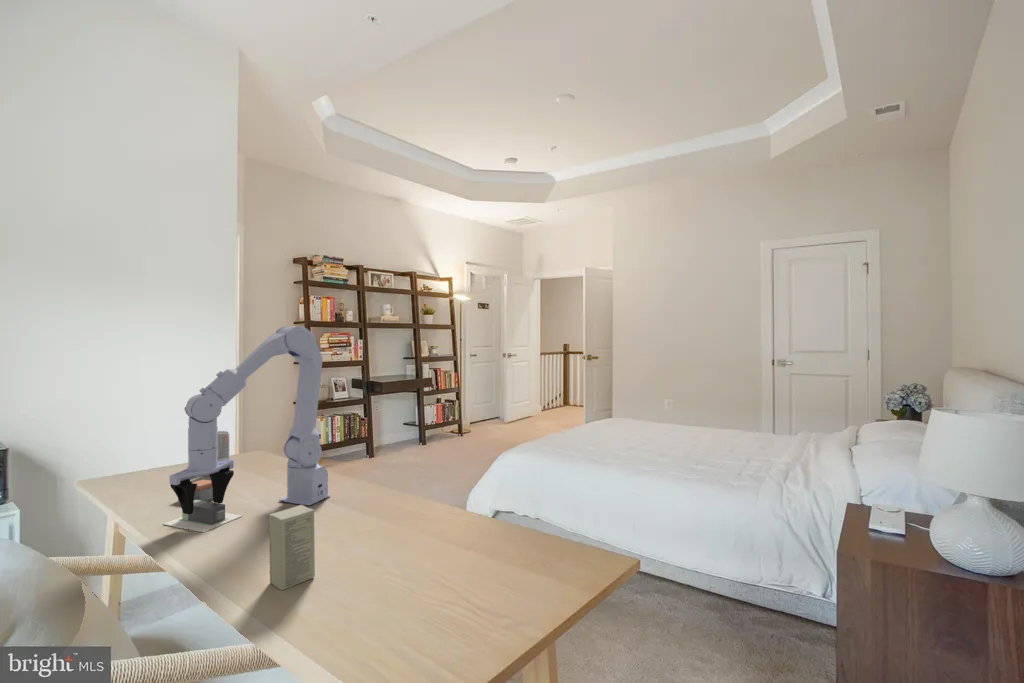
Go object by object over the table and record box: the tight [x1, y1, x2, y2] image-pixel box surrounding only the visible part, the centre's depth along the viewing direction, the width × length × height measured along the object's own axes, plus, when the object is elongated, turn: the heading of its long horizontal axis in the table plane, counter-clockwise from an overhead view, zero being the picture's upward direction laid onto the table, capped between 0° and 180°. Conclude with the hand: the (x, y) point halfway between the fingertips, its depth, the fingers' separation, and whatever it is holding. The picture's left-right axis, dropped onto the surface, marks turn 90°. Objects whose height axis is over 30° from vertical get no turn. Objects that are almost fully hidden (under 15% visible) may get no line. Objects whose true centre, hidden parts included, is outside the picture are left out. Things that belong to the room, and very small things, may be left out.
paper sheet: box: [162, 512, 243, 533], centre depth 118 cm, size 12×10×1 cm
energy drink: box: [218, 430, 230, 461], centre depth 156 cm, size 5×5×12 cm
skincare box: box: [268, 504, 316, 591], centre depth 90 cm, size 6×4×12 cm
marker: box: [181, 500, 226, 525], centre depth 117 cm, size 10×3×3 cm, turn 70°
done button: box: [192, 479, 212, 491], centre depth 133 cm, size 4×4×2 cm
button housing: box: [177, 487, 213, 502], centre depth 133 cm, size 7×7×3 cm
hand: (203, 507), depth 118 cm, fingers open, 7 cm apart
